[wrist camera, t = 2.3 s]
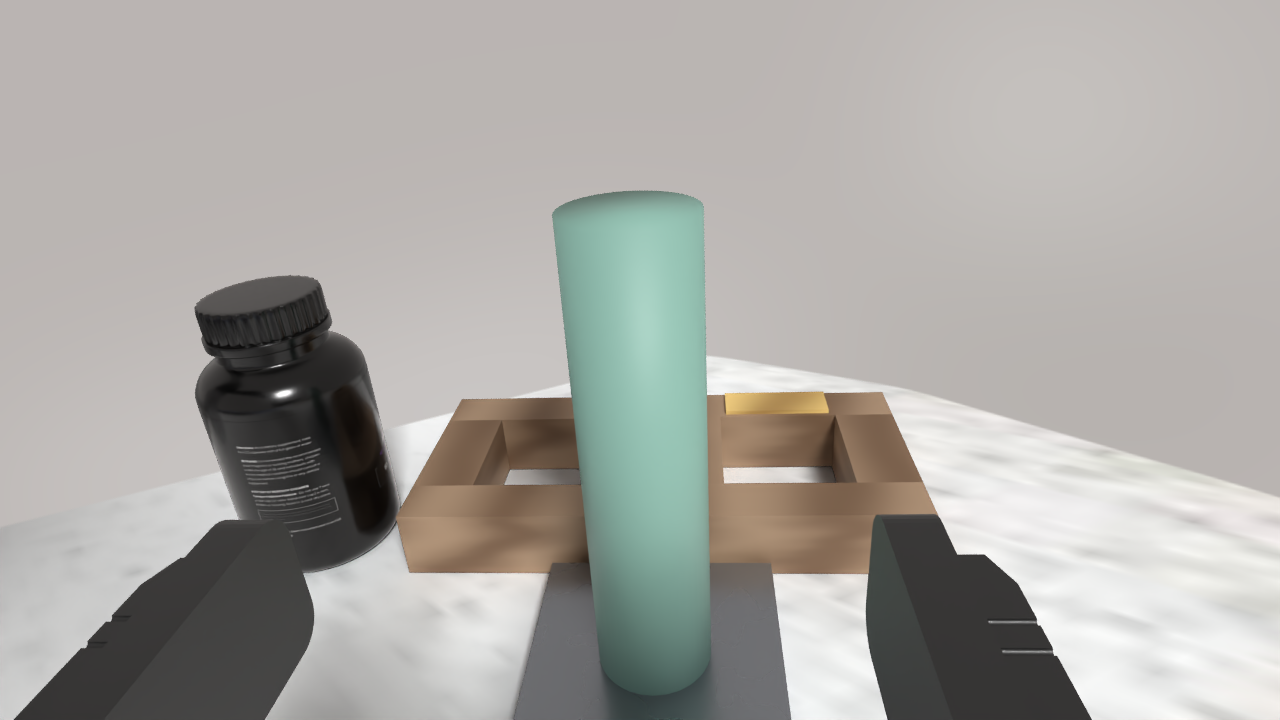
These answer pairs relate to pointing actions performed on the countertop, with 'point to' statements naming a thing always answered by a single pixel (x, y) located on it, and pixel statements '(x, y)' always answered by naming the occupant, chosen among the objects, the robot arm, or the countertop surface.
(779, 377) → the countertop surface
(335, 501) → the supplement bottle
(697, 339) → the peg
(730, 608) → the tab
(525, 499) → the hole board
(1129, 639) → the countertop surface
